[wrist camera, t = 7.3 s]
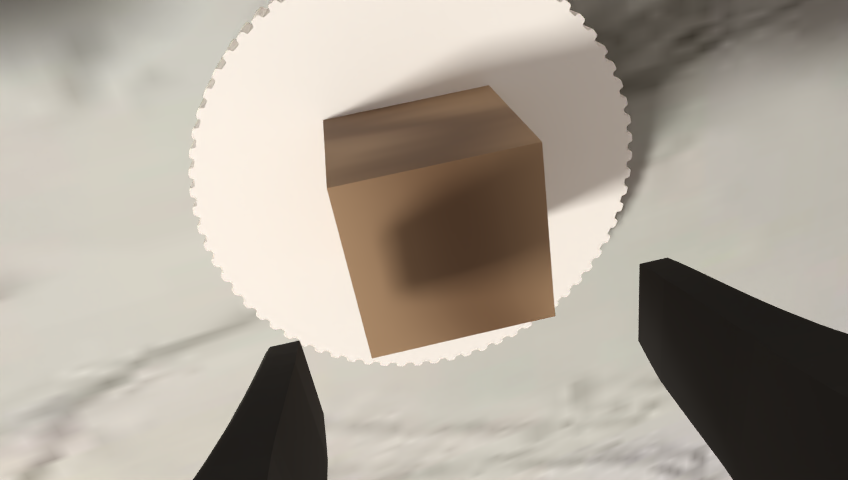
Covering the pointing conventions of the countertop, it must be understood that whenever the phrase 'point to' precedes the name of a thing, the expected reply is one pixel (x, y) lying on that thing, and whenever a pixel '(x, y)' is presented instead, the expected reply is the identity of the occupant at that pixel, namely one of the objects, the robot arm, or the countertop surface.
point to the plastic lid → (376, 88)
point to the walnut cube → (440, 218)
